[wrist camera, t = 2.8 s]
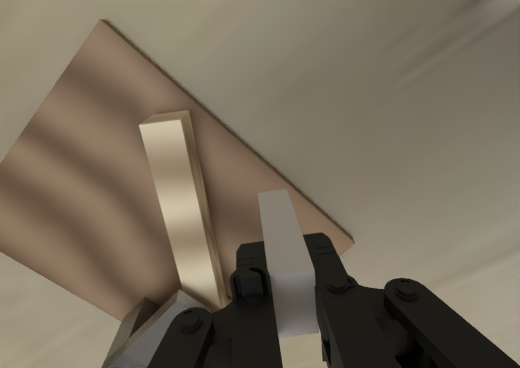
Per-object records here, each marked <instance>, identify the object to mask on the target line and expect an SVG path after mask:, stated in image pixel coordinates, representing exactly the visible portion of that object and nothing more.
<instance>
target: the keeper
mask: <svg viewBox="0 0 520 368" xmlns="http://www.w3.org/2000/svg"><path fill="white" fill-rule="evenodd" d="M194 307H200V308H205V309H206V310H208V311H209V312H210V313H213V312H214V311H212V310H210V309H209V308H207V307H206V306H204V305H203V304H201V303H200V302H198V301H197V300H195V299H194V298H192V297H190V296H189V295H187V294H186V293H184V292H183V291H181V290H180V289H179V290H178V291H177V292H176V293H175V294H174V295H173V296H172V297H171V298H170V299H169V300H168V301H167V302H166V303H165V304H164V305H163V306H162V307H161V306H159V305H158V304H156V303H155V302H153V301H151V300H150V299H148V298H147V297H144V298H143V299H142V300H141V301H140V302H139V303H138V304H137V305H136V306H135V307H134V308H133V309H132V310H131V311H130V312H129V313H128V314H127V315H126V316H125V317H124V318H123V321H122V323H121V325H120V327H119V330H118V332H117V334H116V336H115V339H114V341H113V343H112V345H111V348H110V350H109V352H108V354H107V357H106V359H105V361H104V363H103V366H102V368H147V366H148V365H149V363H150V361H151V359H152V357H153V355H154V353H155V351H156V350H157V348H158V346H159V344H160V342H161V340H162V338H163V337H164V335H165V333H166V331H167V329H168V327H169V325H170V323H171V322H172V320H173V319H174V318H175V316H176V315H178V314H179V313H181V312H182V311H184V310H186V309H189V308H194Z"/></svg>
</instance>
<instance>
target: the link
mask: <svg viewBox="0 0 520 368" xmlns="http://www.w3.org/2000/svg"><path fill="white" fill-rule="evenodd" d="M139 128H140V131H141V135H142V139H143V142H144V146H145V150H146V154H147V157H148V161H149V165H150V169H151V172H152V176H153V180H154V184H155V187H156V191H157V195H158V199H159V202H160V206H161V210H162V214H163V217H164V221H165V225H166V229H167V232H168V236H169V240H170V243H171V247H172V251H173V255H174V258H175V262H176V266H177V270H178V273H179V277H180V281H181V285H182V288H183V292H184V293H186V294H187V295H189V296H190V297H192V298H194V299H195V300H197V301H198V302H200V303H201V304H203V305H204V306H206V307H207V308H209V309H210V310H212V311H214V312H215V311H218V310H220V309H222V308H224V307H226V306H227V305H228V304H229V303H230V302H231V301H232V300H231V299H229V298H227V295H226V290H225V285H224V280H223V275H222V271H221V266H220V261H219V256H218V251H217V246H216V241H215V236H214V231H213V226H212V221H211V216H210V211H209V207H208V202H207V197H206V192H205V187H204V182H203V177H202V172H201V167H200V162H199V157H198V152H197V147H196V143H195V138H194V133H193V128H192V123H191V118H190V113H189V110H184V111H177V112H169V113H161V114H153V115H152V116H150V117H149V118H148V119H146V120H145V121H144V122H142V123H141V124H140V125H139Z"/></svg>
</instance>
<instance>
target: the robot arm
mask: <svg viewBox="0 0 520 368" xmlns="http://www.w3.org/2000/svg"><path fill="white" fill-rule="evenodd" d="M258 200H259V207H260V215H261V222H262V230H263V238H264V241H259V242H252V243H244V244H241V245H240V246H239V248H238V250H237V251H236V270H235V271H234V272H233V273H232V274H231V276H230V279H229V283H230V288H231V293H232V298H233V300H232V301H231V302H230V303H229V304H228V305H227V306H226V307H224V308H222V309H220V310H218V311H215V312H213V313H210V312H209V311H208V310H206V309H205V308H200V307H194V308H189V309H186V310H184V311H182V312H181V313H179V314H178V315H176V316H175V318H174V319H173V320H172V322H171V323H170V325H169V327H168V329H167V331H166V333H165V335H164V337H163V338H162V340H161V342H160V344H159V346H158V348H157V350H156V351H155V353H154V355H153V357H152V359H151V361H150V363H149V365H148V366H147V368H283V366H282V359H281V352H280V345H279V338H283V337H290V336H297V335H304V334H312V333H319V329H320V332H321V340H322V356H323V361H326V362H327V366H328V368H520V365H518V364H517V363H516V362H515V361H514V360H512V359H511V358H510V357H509V356H508V355H506V354H505V353H504V352H503V351H502V350H500V349H499V348H498V347H497V346H496V345H494V344H493V343H492V342H491V341H490V340H489V339H487V338H486V337H485V336H484V335H483V334H481V333H480V332H479V331H478V330H477V329H475V328H474V327H473V326H472V325H471V324H469V323H468V322H467V321H466V320H465V319H463V318H462V317H461V316H460V315H459V314H457V313H456V312H455V311H454V310H453V309H451V308H450V307H449V306H448V305H447V304H445V303H444V302H443V301H442V300H441V299H439V298H438V297H437V296H436V295H435V294H434V293H432V292H431V291H430V290H429V289H428V288H426V287H425V286H424V285H422V284H421V283H419V282H417V281H414V280H411V279H406V278H397V279H392V280H391V281H389V282H387V284H386V285H385V287H384V289H376V288H369V287H364V286H361V285H359V284H358V283H357V282H356V280H355V279H354V278H352V277H351V276H349V275H348V274H347V272H346V270H345V268H344V266H343V264H342V262H341V260H340V258H339V256H338V254H337V252H336V250H335V247H334V246H333V243H332V241H331V239H330V238H329V237H328V236H327V235H325V234H324V233H323V232H319V233H312V234H305V235H302V232H301V229H300V226H299V223H298V220H297V217H296V214H295V211H294V209H293V206H292V203H291V200H290V197H289V194H288V191H287V189H284V190H276V191H269V192H262V193H258ZM318 325H319V329H318Z"/></svg>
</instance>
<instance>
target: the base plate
mask: <svg viewBox="0 0 520 368" xmlns="http://www.w3.org/2000/svg"><path fill="white" fill-rule="evenodd" d="M184 110H189V113H190V118H191V123H192V128H193V133H194V138H195V143H196V147H197V152H198V157H199V162H200V167H201V172H202V177H203V182H204V187H205V192H206V197H207V202H208V207H209V211H210V216H211V221H212V226H213V231H214V236H215V241H216V246H217V251H218V256H219V261H220V266H221V271H222V275H223V280H224V285H225V290H226V295H227V298H229V299H231V300H233V298H232V293H231V288H230V283H229V279H230V276H231V274H232V273H233V272H234V271H235V270H236V251H237V250H238V248H239V246H240V245H241V244H244V243H252V242H259V241H264V238H263V230H262V222H261V215H260V207H259V200H258V193H262V192H269V191H276V190H284V189H287V191H288V194H289V197H290V200H291V203H292V206H293V209H294V211H295V214H296V217H297V220H298V223H299V226H300V229H301V232H302V235H305V234H312V233H319V232H323V233H324V234H325V235H327V236H328V237H329V238H330V239H331V241H332V243H333V246H334V247H335V250H336V252H337V254H338V256H340V255H342V254H343V253H344V252H345V251H346V250H347V249H349V248H350V247H351V246H352V245H353V244H355V242H354V240H353V239H352V237H350V236H349V235H348V234H347V233H346V232H345V231H344V230H343V229H341V228H340V227H339V226H338V225H337V224H336V223H335V222H333V221H332V220H331V219H330V218H329V217H328V216H327V215H326V214H324V213H323V212H322V211H321V210H320V209H319V208H318V207H316V206H315V205H314V204H313V203H312V202H311V201H310V200H309V199H307V198H306V197H305V196H304V195H303V194H302V193H301V192H299V191H298V190H297V189H296V188H295V187H294V186H293V185H292V184H290V183H289V182H288V181H287V180H286V179H285V178H284V177H282V176H281V175H280V174H279V173H278V172H277V171H276V170H275V169H273V168H272V167H271V166H270V165H269V164H268V163H267V162H265V161H264V160H263V159H262V158H261V157H260V156H259V155H258V154H256V153H255V152H254V151H253V150H252V149H251V148H250V147H248V146H247V145H246V144H245V143H244V142H243V141H242V140H241V139H239V138H238V137H237V136H236V135H235V134H234V133H233V132H231V131H230V130H229V129H228V128H227V127H226V126H225V125H224V124H222V123H221V122H220V121H219V120H218V119H217V118H216V117H214V116H213V115H212V114H211V113H210V112H209V111H208V110H207V109H205V108H204V107H203V106H202V105H201V104H200V103H199V102H197V101H196V100H195V99H194V98H193V97H192V96H191V95H190V94H188V93H187V92H186V91H185V90H184V89H183V88H182V87H180V86H179V85H178V84H177V83H176V82H175V81H174V80H173V79H171V78H170V77H169V76H168V75H167V74H166V73H165V72H163V71H162V70H161V69H160V68H159V67H158V66H157V65H156V64H154V63H153V62H152V61H151V60H150V59H149V58H148V57H146V56H145V55H144V54H143V53H142V52H141V51H140V50H139V49H137V48H136V47H135V46H134V45H133V44H132V43H131V42H129V41H128V40H127V39H126V38H125V37H124V36H123V35H122V34H120V33H119V32H118V31H117V30H116V29H115V28H114V27H112V26H111V25H110V24H109V23H108V22H107V21H106V20H102V19H100V20H99V22H98V23H97V25H96V26H95V27H94V29H93V30H92V32H91V33H90V35H89V36H88V38H87V39H86V40H85V42H84V43H83V45H82V46H81V48H80V49H79V51H78V52H77V54H76V55H75V56H74V58H73V59H72V61H71V62H70V64H69V65H68V67H67V68H66V69H65V71H64V72H63V74H62V75H61V77H60V78H59V80H58V81H57V83H56V84H55V85H54V87H53V88H52V90H51V91H50V93H49V94H48V96H47V97H46V98H45V100H44V101H43V103H42V104H41V106H40V107H39V109H38V110H37V112H36V113H35V114H34V116H33V117H32V119H31V120H30V122H29V123H28V125H27V126H26V127H25V129H24V130H23V132H22V133H21V135H20V136H19V138H18V139H17V141H16V142H15V143H14V145H13V146H12V148H11V149H10V151H9V152H8V154H7V155H6V156H5V158H4V159H3V161H2V162H1V164H0V252H2V253H4V254H5V255H7V256H9V257H11V258H12V259H14V260H16V261H18V262H19V263H21V264H23V265H25V266H26V267H28V268H30V269H31V270H33V271H35V272H37V273H38V274H40V275H42V276H44V277H45V278H47V279H49V280H51V281H52V282H54V283H56V284H57V285H59V286H61V287H63V288H64V289H66V290H68V291H70V292H71V293H73V294H75V295H77V296H78V297H80V298H82V299H83V300H85V301H87V302H89V303H90V304H92V305H94V306H96V307H97V308H99V309H101V310H103V311H104V312H106V313H108V314H109V315H111V316H113V317H115V318H116V319H118V320H120V321H123V318H124V317H125V316H126V315H127V314H128V313H129V312H130V311H131V310H132V309H133V308H134V307H135V306H136V305H137V304H138V303H139V302H140V301H141V300H142V299H143V298H144V297H147V298H148V299H150V300H151V301H153V302H155V303H156V304H158V305H159V306H161V307H162V306H163V305H164V304H165V303H166V302H167V301H168V300H169V299H170V298H171V297H172V296H173V295H174V294H175V293H176V292H177V291H178V290H179V289H180V290H181V291H183V288H182V285H181V281H180V277H179V273H178V270H177V266H176V262H175V258H174V255H173V251H172V247H171V243H170V240H169V236H168V232H167V229H166V225H165V221H164V217H163V214H162V210H161V206H160V202H159V199H158V195H157V191H156V187H155V184H154V180H153V176H152V172H151V169H150V165H149V161H148V157H147V154H146V150H145V146H144V142H143V139H142V135H141V131H140V128H139V125H140V124H141V123H142V122H144V121H145V120H146V119H148V118H149V117H150V116H152V115H153V114H161V113H169V112H177V111H184Z"/></svg>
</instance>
